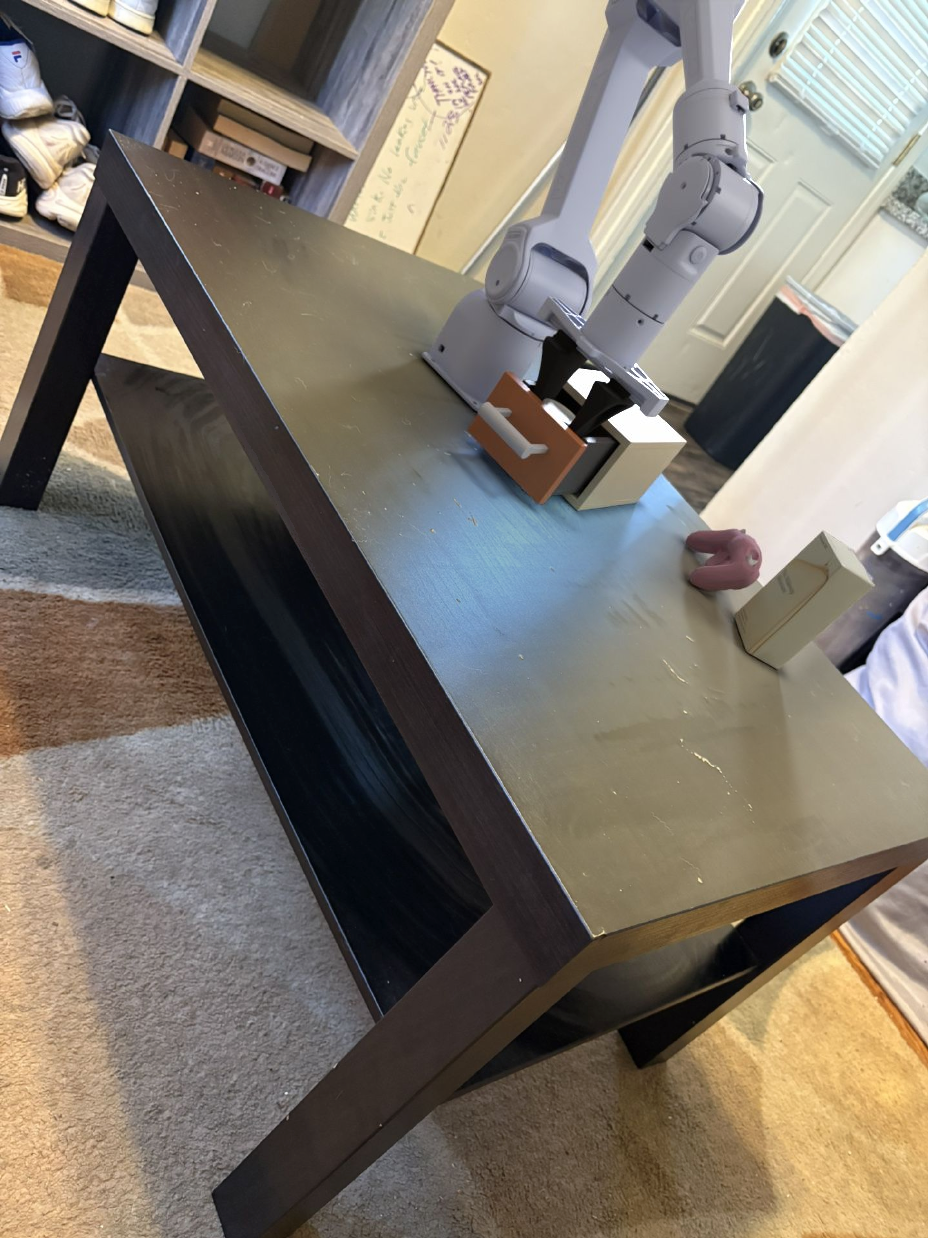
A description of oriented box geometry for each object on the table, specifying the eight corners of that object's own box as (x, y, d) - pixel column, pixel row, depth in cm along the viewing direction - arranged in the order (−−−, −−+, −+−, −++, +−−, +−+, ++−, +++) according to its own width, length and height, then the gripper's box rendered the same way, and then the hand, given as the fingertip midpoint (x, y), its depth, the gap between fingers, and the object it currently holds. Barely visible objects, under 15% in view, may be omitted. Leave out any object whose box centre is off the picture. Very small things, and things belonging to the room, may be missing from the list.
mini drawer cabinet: (577, 511, 86) (631, 442, 81) (501, 434, 89) (549, 364, 85) (636, 503, 96) (687, 441, 92) (567, 434, 100) (612, 372, 96)
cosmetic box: (731, 615, 88) (819, 526, 82) (765, 633, 90) (854, 548, 83) (746, 654, 83) (841, 563, 77) (781, 673, 84) (877, 585, 78)
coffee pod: (515, 427, 81) (536, 397, 80) (537, 428, 85) (558, 398, 83) (543, 455, 80) (565, 425, 78) (564, 455, 83) (586, 426, 81)
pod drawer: (512, 507, 76) (557, 446, 72) (439, 430, 79) (478, 367, 76) (601, 497, 89) (642, 445, 86) (534, 431, 92) (572, 378, 89)
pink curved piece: (705, 612, 89) (772, 585, 86) (686, 577, 87) (754, 548, 85) (699, 567, 97) (760, 541, 95) (682, 534, 96) (744, 507, 93)
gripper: (559, 245, 74) (474, 378, 81) (680, 352, 69) (579, 483, 76) (598, 259, 79) (516, 382, 86) (712, 359, 75) (615, 480, 82)
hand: (548, 429), depth 82 cm, fingers closed on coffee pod, 4 cm apart
